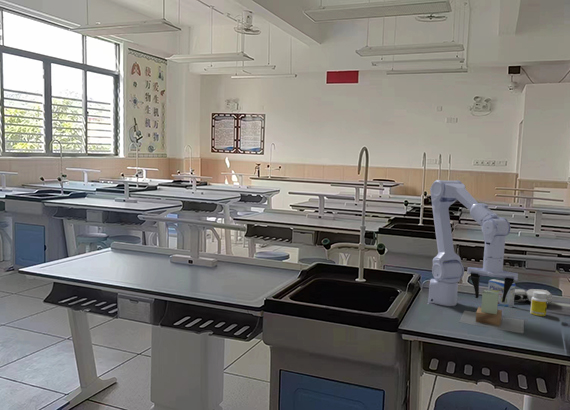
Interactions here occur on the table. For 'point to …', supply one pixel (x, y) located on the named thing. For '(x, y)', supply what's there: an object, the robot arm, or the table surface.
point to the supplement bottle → (538, 303)
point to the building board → (505, 324)
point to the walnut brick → (488, 317)
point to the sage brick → (489, 302)
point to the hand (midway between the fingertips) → (490, 299)
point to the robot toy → (529, 295)
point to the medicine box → (499, 287)
